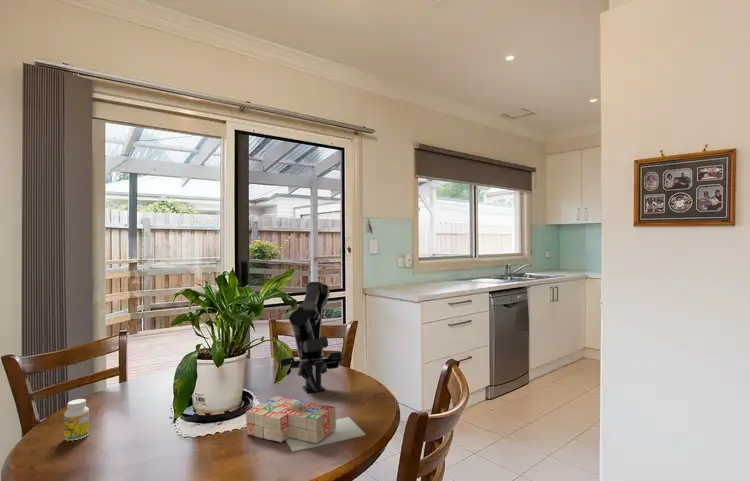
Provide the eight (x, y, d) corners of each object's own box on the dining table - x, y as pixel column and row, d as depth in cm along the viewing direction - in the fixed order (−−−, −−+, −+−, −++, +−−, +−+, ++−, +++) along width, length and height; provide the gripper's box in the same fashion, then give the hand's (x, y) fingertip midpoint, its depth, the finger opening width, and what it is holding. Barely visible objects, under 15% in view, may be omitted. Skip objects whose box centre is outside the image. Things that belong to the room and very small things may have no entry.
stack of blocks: (336, 405, 110) (309, 424, 99) (336, 428, 110) (310, 449, 99) (275, 395, 120) (244, 411, 109) (276, 416, 120) (245, 434, 109)
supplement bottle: (93, 434, 110) (94, 398, 110) (73, 443, 104) (74, 406, 105) (79, 431, 111) (79, 396, 111) (58, 440, 106) (59, 404, 106)
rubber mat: (281, 432, 110) (281, 430, 110) (348, 418, 119) (348, 417, 119) (292, 452, 100) (292, 450, 100) (365, 435, 108) (365, 433, 108)
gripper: (279, 330, 115) (288, 380, 105) (340, 324, 124) (354, 370, 113) (273, 351, 122) (282, 400, 112) (331, 345, 130) (344, 389, 120)
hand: (316, 389), depth 114 cm, fingers closed
